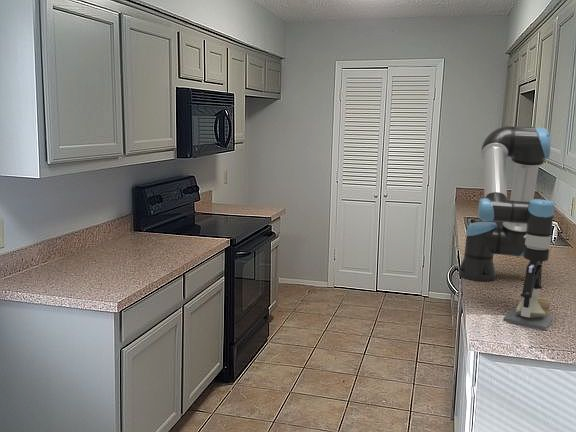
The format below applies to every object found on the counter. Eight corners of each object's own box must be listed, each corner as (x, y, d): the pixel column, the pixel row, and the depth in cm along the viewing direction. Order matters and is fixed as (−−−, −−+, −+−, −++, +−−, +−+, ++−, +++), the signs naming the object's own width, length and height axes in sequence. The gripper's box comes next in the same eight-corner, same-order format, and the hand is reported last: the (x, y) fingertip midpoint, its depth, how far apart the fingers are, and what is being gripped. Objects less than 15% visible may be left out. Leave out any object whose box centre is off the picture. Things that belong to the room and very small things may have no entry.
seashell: (507, 306, 193) (524, 293, 195) (522, 328, 192) (538, 314, 194) (522, 305, 185) (538, 291, 187) (537, 327, 184) (554, 313, 187)
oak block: (530, 310, 202) (532, 296, 201) (546, 312, 200) (547, 298, 199) (532, 314, 197) (533, 300, 196) (547, 316, 196) (549, 302, 195)
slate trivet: (512, 311, 199) (512, 308, 199) (552, 319, 192) (553, 316, 192) (503, 321, 189) (503, 317, 188) (545, 330, 182) (546, 327, 181)
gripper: (531, 240, 198) (524, 300, 202) (516, 251, 178) (509, 318, 182) (555, 243, 194) (547, 305, 198) (542, 255, 174) (534, 324, 178)
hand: (529, 311), depth 190 cm, fingers open, 11 cm apart
